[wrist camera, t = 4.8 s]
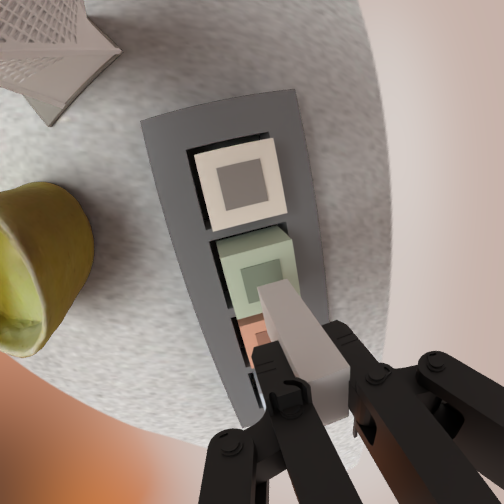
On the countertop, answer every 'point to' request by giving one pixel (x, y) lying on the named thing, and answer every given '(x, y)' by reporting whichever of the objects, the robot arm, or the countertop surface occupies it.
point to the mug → (40, 263)
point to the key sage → (256, 266)
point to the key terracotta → (253, 333)
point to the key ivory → (241, 183)
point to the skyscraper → (50, 52)
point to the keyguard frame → (200, 231)
